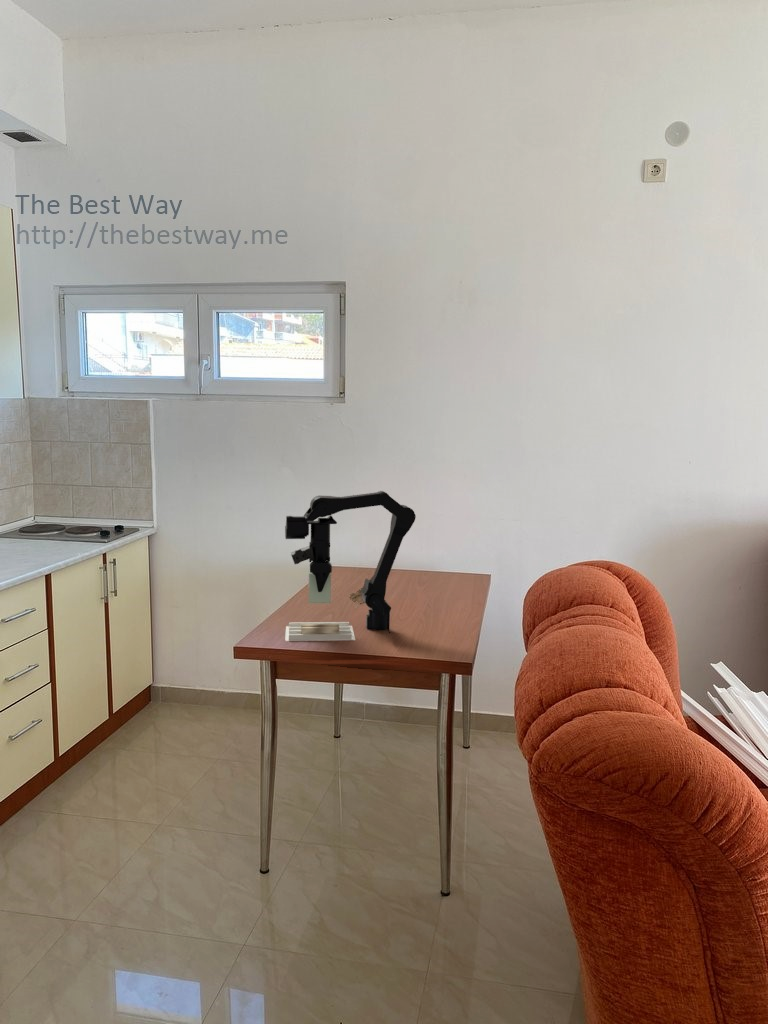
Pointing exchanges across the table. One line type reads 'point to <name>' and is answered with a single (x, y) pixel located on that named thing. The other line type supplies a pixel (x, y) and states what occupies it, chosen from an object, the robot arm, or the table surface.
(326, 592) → the sage green block
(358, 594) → the wooden fragment
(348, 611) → the table surface
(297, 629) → the slot rack
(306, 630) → the offcut bundle
